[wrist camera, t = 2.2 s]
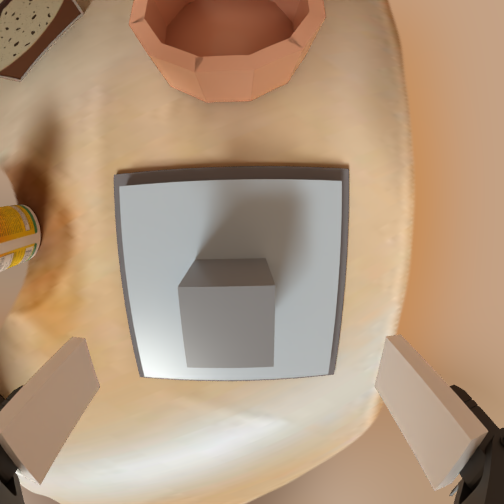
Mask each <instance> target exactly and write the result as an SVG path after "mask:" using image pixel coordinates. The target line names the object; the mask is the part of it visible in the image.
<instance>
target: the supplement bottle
mask: <svg viewBox="0 0 504 504" xmlns="http://www.w3.org/2000/svg"><path fill="white" fill-rule="evenodd" d="M40 240H41V231H40V225H39V222H38V220H37V217H36V215H35V213H34V212H33V211H32V209H30V208H29V207H27V206H25V205H12V206H4V207H0V271H3V270H5V269H7V268H10V267H12V266H15V265H17V264H19V263H23V262H25V261H27V260H29V259H31V258H32V257H33V256H34V255H35V254H36V252H37V251H38V248H39V245H40Z"/></svg>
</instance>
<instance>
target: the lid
mask: <svg viewBox="0 0 504 504" xmlns="http://www.w3.org/2000/svg"><path fill="white" fill-rule="evenodd" d="M119 192H120V214H121V230H122V242H123V253H124V262H125V271H126V279H127V287H128V294H129V300H130V307H131V313H132V319H133V324H134V330H135V335H136V340H137V345H138V350H139V355H140V359H141V364H142V368H143V372H144V377H154V378H169V379H188V380H261V379H281V378H295V377H307V376H317V375H327V374H328V372H329V365H330V358H331V350H332V342H333V334H334V325H335V315H336V304H337V293H338V280H339V265H340V247H341V219H342V181H331V180H296V179H242V180H207V181H185V182H168V183H154V184H141V185H129V186H119Z"/></svg>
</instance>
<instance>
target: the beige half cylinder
mask: <svg viewBox="0 0 504 504" xmlns="http://www.w3.org/2000/svg"><path fill="white" fill-rule="evenodd" d="M83 14H84V12H83V11H82V9H81V8H80V6H79V5H78V3H77V2H76V0H0V78H5V79H9V80H14V81H19V82H21V81H22V80H23V78H24V77H25V76H26V74H27V73H28V72H29V71H30V69H31V68H32V67H33V66H34V65H35V63H36V62H37V61H38V60H39V59H40V58H41V56H42V55H43V54H44V53H45V52H46V51H47V50H48V49H49V48H50V46H51V45H52V44H53V43H54V42H55V41H56V40H57V39H58V38H59V37H60V36H61V35H62V34H63V33H64V32H65V31H66V30H67V29H68V28H69V27H70V26H71V25H72V24H73V23H74V22H75V21H76V20H78V19H79V18H80V17H81V16H82V15H83Z"/></svg>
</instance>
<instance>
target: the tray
mask: <svg viewBox="0 0 504 504" xmlns="http://www.w3.org/2000/svg"><path fill="white" fill-rule="evenodd" d="M242 179H296V180H331V181H342V219H341V247H340V265H339V280H338V293H337V304H336V315H335V325H334V334H333V342H332V350H331V358H330V365H329V372H328V374H327V375H333V374H334V370H335V364H336V357H337V350H338V343H339V335H340V327H341V318H342V309H343V298H344V287H345V275H346V260H347V242H348V213H349V169H341V168H321V167H288V166H240V167H207V168H187V169H171V170H158V171H146V172H136V173H126V174H117V175H114V199H115V218H116V232H117V244H118V254H119V263H120V272H121V279H122V287H123V294H124V300H125V306H126V312H127V318H128V324H129V329H130V334H131V339H132V344H133V349H134V353H135V358H136V362H137V366H138V370H139V374H140V377H144V372H143V368H142V364H141V359H140V355H139V350H138V345H137V340H136V335H135V330H134V324H133V319H132V313H131V307H130V300H129V294H128V287H127V279H126V271H125V262H124V253H123V242H122V230H121V214H120V192H119V186H129V185H141V184H154V183H168V182H185V181H207V180H242ZM317 376H324V375H317ZM307 377H314V376H307ZM146 378H154V377H146ZM295 378H304V377H295ZM158 379H169V378H158ZM281 379H291V378H281ZM174 380H188V379H174ZM261 380H276V379H261ZM197 381H252V380H197Z"/></svg>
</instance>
